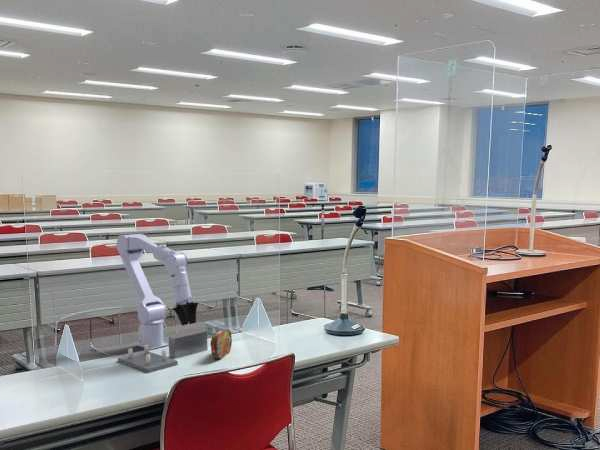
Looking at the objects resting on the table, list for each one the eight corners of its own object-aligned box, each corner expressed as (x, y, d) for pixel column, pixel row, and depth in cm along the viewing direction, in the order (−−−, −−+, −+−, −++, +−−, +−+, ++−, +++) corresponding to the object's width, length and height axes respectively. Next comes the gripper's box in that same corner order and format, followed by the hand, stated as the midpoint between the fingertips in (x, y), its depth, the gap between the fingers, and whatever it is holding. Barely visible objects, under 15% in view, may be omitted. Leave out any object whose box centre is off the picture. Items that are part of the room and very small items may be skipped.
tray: (117, 361, 181) (117, 348, 181) (146, 354, 189) (146, 341, 189) (148, 372, 168) (147, 358, 168) (177, 364, 176) (177, 351, 176)
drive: (169, 357, 186) (168, 337, 185) (201, 348, 196) (201, 329, 196) (174, 358, 183) (174, 338, 183) (207, 350, 194) (207, 331, 193)
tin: (218, 361, 179) (217, 337, 179) (209, 361, 180) (208, 336, 179) (232, 349, 194) (232, 326, 193) (224, 349, 194) (224, 326, 194)
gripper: (199, 281, 186) (207, 320, 185) (184, 286, 198) (192, 322, 197) (180, 285, 182) (188, 325, 181) (166, 290, 194) (173, 327, 193)
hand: (188, 324), depth 188 cm, fingers open, 7 cm apart
